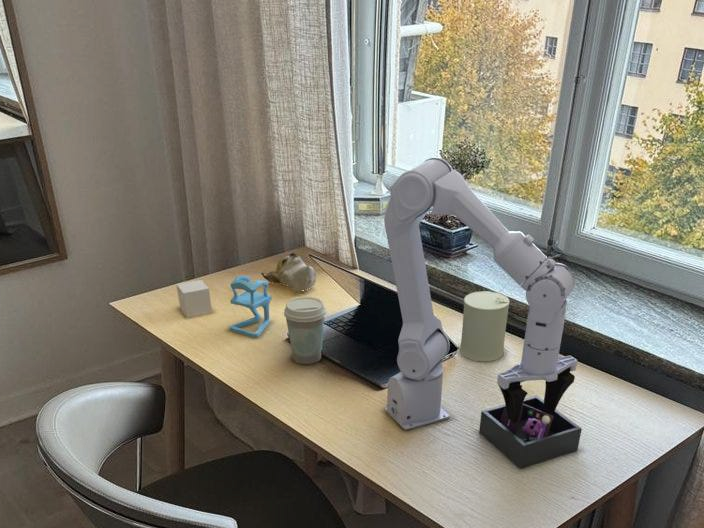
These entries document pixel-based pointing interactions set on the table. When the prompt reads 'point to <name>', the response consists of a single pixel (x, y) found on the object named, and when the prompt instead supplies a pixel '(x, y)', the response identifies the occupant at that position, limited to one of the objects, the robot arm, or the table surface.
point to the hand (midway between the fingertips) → (530, 414)
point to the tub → (527, 448)
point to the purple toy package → (529, 422)
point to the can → (484, 326)
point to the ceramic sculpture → (292, 274)
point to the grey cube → (194, 298)
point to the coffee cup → (305, 328)
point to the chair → (250, 304)
